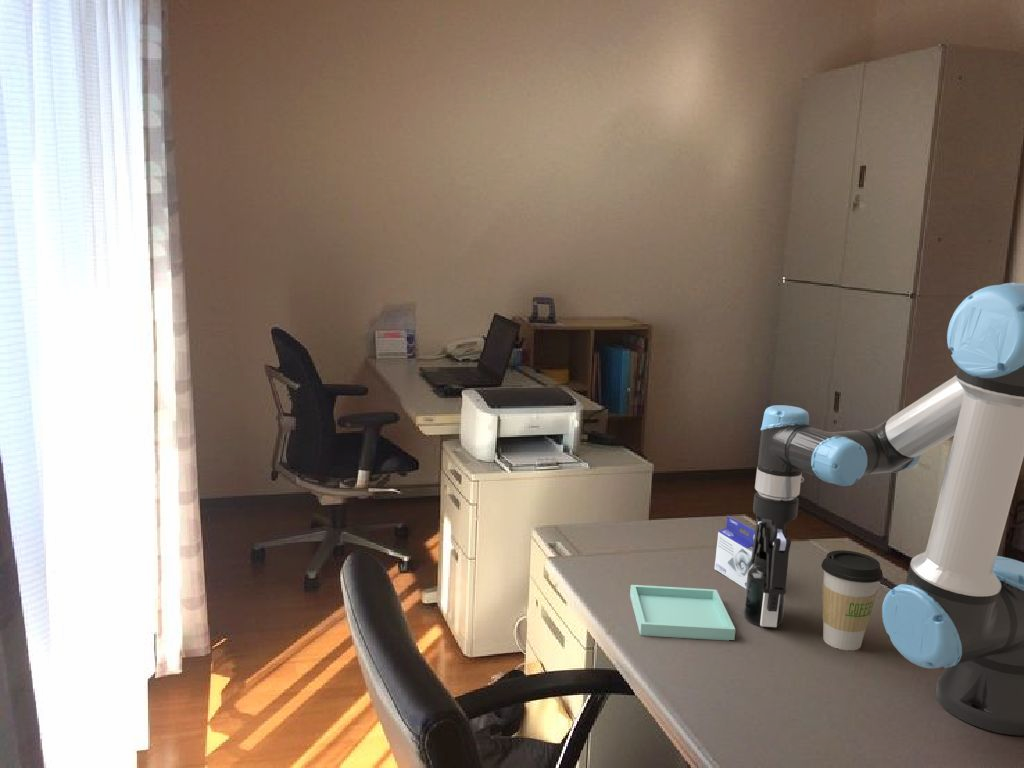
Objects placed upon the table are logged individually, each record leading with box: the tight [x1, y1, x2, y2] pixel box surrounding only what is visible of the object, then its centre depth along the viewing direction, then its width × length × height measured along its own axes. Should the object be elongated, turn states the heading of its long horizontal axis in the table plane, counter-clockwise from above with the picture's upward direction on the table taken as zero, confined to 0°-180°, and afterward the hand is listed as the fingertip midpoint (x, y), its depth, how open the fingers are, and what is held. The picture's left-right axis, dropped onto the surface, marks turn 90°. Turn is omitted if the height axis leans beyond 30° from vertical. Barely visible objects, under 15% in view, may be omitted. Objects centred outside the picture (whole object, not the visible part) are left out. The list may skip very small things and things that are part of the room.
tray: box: [629, 584, 736, 641], centre depth 163 cm, size 16×16×2 cm
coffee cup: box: [820, 549, 884, 651], centre depth 155 cm, size 10×10×15 cm
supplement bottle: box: [743, 552, 788, 627], centre depth 162 cm, size 7×7×12 cm
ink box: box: [713, 515, 756, 590], centre depth 179 cm, size 12×2×12 cm, turn 25°
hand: (762, 616), depth 163 cm, fingers closed on supplement bottle, 7 cm apart
